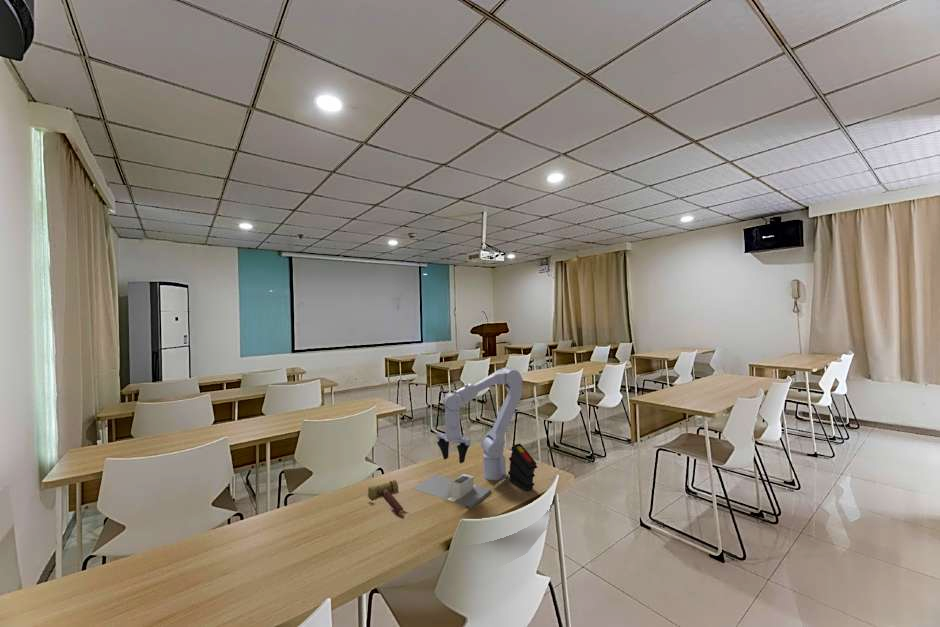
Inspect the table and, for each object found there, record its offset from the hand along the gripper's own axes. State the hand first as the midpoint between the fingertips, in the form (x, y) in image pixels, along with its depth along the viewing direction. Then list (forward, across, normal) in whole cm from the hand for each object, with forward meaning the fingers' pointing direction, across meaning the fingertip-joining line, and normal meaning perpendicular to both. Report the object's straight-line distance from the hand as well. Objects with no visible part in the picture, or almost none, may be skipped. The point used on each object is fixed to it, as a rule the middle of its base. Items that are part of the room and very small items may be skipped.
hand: (453, 460), depth 147 cm
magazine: (+10, +23, +12) cm, 28 cm away
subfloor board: (+9, +2, -5) cm, 11 cm away
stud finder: (+8, +7, -5) cm, 12 cm away
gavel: (+10, -11, -23) cm, 27 cm away
